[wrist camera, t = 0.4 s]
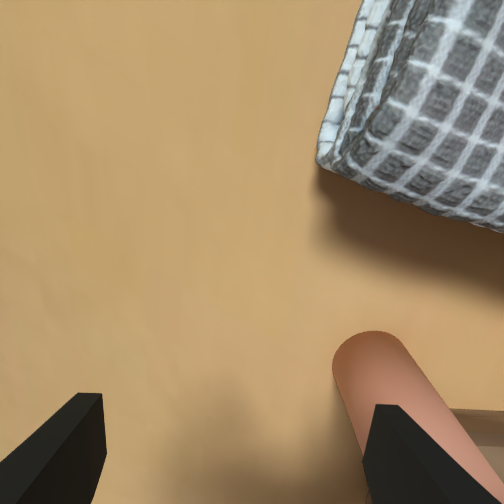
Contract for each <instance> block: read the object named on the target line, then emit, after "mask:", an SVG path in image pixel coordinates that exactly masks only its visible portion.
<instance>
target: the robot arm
mask: <svg viewBox="0 0 504 504" xmlns="http://www.w3.org/2000/svg"><path fill="white" fill-rule="evenodd" d="M106 455H107V448H106V436H105V423H104V411H103V398H102V393H77V394H76V395H75V396H73V397H72V398H71V399H70V400H69V401H68V402H67V403H66V404H65V405H63V406H62V407H61V408H60V409H59V410H58V411H57V412H56V413H55V414H54V415H53V416H51V417H50V418H49V419H48V420H47V421H46V422H45V423H44V424H43V425H42V426H41V427H39V428H38V429H37V430H36V431H35V432H34V433H33V434H32V435H31V436H30V437H28V438H27V439H26V440H25V441H24V442H23V443H22V444H20V445H19V446H18V447H17V448H16V449H15V450H14V451H12V452H11V453H10V454H9V455H8V456H7V457H6V458H5V459H3V460H2V461H1V462H0V504H91V502H92V500H93V497H94V494H95V491H96V488H97V485H98V482H99V478H100V475H101V472H102V468H103V465H104V462H105V458H106ZM362 462H363V466H364V471H365V475H366V479H367V483H368V487H369V491H370V495H371V499H372V503H373V504H502V503H501V502H500V501H499V500H497V499H496V498H495V497H494V496H493V495H492V494H491V493H490V492H488V491H487V490H486V489H485V488H484V487H483V486H482V485H481V484H480V483H479V482H477V481H476V480H475V479H474V478H473V477H472V476H471V475H470V474H469V473H468V472H467V471H466V470H465V469H464V468H463V467H461V466H460V465H459V464H458V463H457V462H456V461H455V460H454V459H453V458H452V457H451V456H450V455H449V454H448V453H447V452H446V451H445V450H444V449H443V448H442V447H441V446H440V445H439V444H438V443H437V442H436V441H435V440H434V439H433V438H432V437H431V436H430V435H429V434H428V433H427V432H426V431H425V430H424V429H423V428H421V427H420V426H419V425H418V424H417V423H416V422H415V421H414V420H413V419H412V418H411V417H410V416H409V415H408V414H407V413H406V412H405V411H404V410H403V409H402V408H401V407H400V406H399V405H392V404H376V405H375V409H374V413H373V418H372V422H371V426H370V430H369V435H368V439H367V443H366V447H365V452H364V456H363V460H362Z"/></svg>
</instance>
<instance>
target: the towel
mask: <svg viewBox="0 0 504 504" xmlns="http://www.w3.org/2000/svg"><path fill="white" fill-rule="evenodd" d="M317 151H318V153H317V156H316V159H315V160H316V163H317V164H318V165H320V166H321V167H322V168H323V169H326V170H330V171H332V172H334V173H338V174H340V175H342V176H343V177H345V178H346V179H350V180H353V181H355V182H357V183H358V184H359V185H361V186H362V187H364V188H368V189H370V190H372V191H375V192H384V193H386V194H387V195H388V196H390V197H391V198H392V199H394V200H397V201H399V202H404V203H412V204H413V205H416V206H418V207H419V208H420V209H421V210H424V211H426V212H428V213H430V214H432V215H435V216H439V215H441V216H444V217H447V218H450V219H454V220H458V221H464V222H470V223H472V224H473V225H476V226H480V227H487V228H490V229H491V230H493V231H496V232H499V233H504V0H363V1H362V4H361V6H360V8H359V10H358V13H357V16H356V19H355V22H354V26H353V30H352V34H351V37H350V40H349V42H348V45H347V48H346V51H345V55H344V59H343V62H342V64H341V67H340V70H339V72H338V74H337V77H336V80H335V82H334V85H333V88H332V91H331V95H330V98H329V105H328V109H327V112H326V114H325V116H324V119H323V121H322V124H321V128H320V132H319V135H318V140H317Z"/></svg>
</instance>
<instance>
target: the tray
mask: <svg viewBox="0 0 504 504" xmlns="http://www.w3.org/2000/svg"><path fill="white" fill-rule="evenodd" d="M450 410H451V412H452V413H453V414H454V416H455V417H456V419H457V420H458V421H459V423H460V424H461V426H462V427H463V428H464V430H465V431H466V432H467V434H468V435H469V437H470V438H471V439H472V441H473V442H474V443H475V445H476V446H477V448H478V449H479V450H480V452H481V453H482V455H483V456H484V457H485V459H486V460H487V461H488V463H489V464H490V466H491V467H492V468H493V470H494V471H495V473H496V474H497V475H498V477H499V478H500V479H501V481H502V482H503V484H504V411H485V410H465V409H450ZM365 504H373V503H372V499H371V495H370V491H368V495H367V498H366V502H365Z"/></svg>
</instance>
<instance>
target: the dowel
mask: <svg viewBox="0 0 504 504" xmlns="http://www.w3.org/2000/svg"><path fill="white" fill-rule="evenodd" d="M332 370H333V374H334V377H335V380H336V382H337V385H338V388H339V391H340V393H341V396H342V399H343V402H344V404H345V407H346V410H347V412H348V415H349V418H350V421H351V423H352V426H353V429H354V432H355V434H356V437H357V440H358V443H359V445H360V448H361V451H362V453H363V456H364V452H365V447H366V443H367V439H368V435H369V430H370V426H371V422H372V418H373V413H374V409H375V405H376V404H392V405H399V406H400V407H401V408H402V409H403V410H404V411H405V412H406V413H407V414H408V415H409V416H410V417H411V418H412V419H413V420H414V421H415V422H416V423H417V424H418V425H419V426H420V427H421V428H423V429H424V430H425V431H426V432H427V433H428V434H429V435H430V436H431V437H432V438H433V439H434V440H435V441H436V442H437V443H438V444H439V445H440V446H441V447H442V448H443V449H444V450H445V451H446V452H447V453H448V454H449V455H450V456H451V457H452V458H453V459H454V460H455V461H456V462H457V463H458V464H459V465H460V466H461V467H463V468H464V469H465V470H466V471H467V472H468V473H469V474H470V475H471V476H472V477H473V478H474V479H475V480H476V481H477V482H479V483H480V484H481V485H482V486H483V487H484V488H485V489H486V490H487V491H488V492H490V493H491V494H492V495H493V496H494V497H495V498H496V499H497V500H499V501H500V502H501V503H502V504H504V484H503V482H502V481H501V479H500V478H499V477H498V475H497V474H496V473H495V471H494V470H493V468H492V467H491V466H490V464H489V463H488V461H487V460H486V459H485V457H484V456H483V455H482V453H481V452H480V450H479V449H478V448H477V446H476V445H475V443H474V442H473V441H472V439H471V438H470V437H469V435H468V434H467V432H466V431H465V430H464V428H463V427H462V426H461V424H460V423H459V421H458V420H457V419H456V417H455V416H454V414H453V413H452V412H451V410H450V409H449V408H448V406H447V405H446V403H445V402H444V401H443V399H442V398H441V396H440V395H439V394H438V392H437V391H436V390H435V388H434V387H433V385H432V384H431V383H430V381H429V380H428V379H427V377H426V376H425V374H424V373H423V372H422V370H421V369H420V367H419V366H418V365H417V363H416V362H415V361H414V359H413V358H412V356H411V355H410V354H409V352H408V351H407V349H406V348H405V347H404V345H403V344H402V343H401V341H400V340H399V339H397V338H396V337H395V336H393V335H391V334H389V333H386V332H382V331H367V332H362V333H359V334H357V335H354V336H352V337H351V338H349V339H348V340H346V341H345V342H344V343H343V344H342V345H341V346H340V347H339V348H338V350H337V351H336V353H335V355H334V358H333V363H332Z"/></svg>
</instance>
